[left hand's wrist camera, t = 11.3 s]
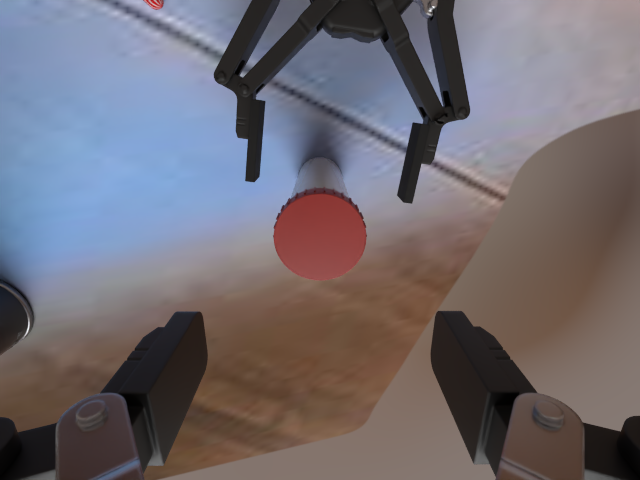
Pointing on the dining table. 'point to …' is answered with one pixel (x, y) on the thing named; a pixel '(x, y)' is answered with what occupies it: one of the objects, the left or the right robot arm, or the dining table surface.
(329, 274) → the lid
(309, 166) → the jar
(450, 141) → the dining table surface
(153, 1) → the candy cane
